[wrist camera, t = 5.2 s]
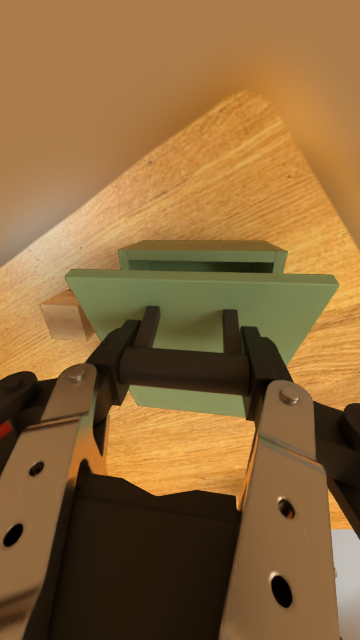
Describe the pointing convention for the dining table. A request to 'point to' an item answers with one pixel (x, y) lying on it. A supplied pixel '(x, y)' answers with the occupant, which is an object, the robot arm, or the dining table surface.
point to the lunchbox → (203, 256)
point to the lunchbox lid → (198, 328)
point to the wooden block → (66, 318)
